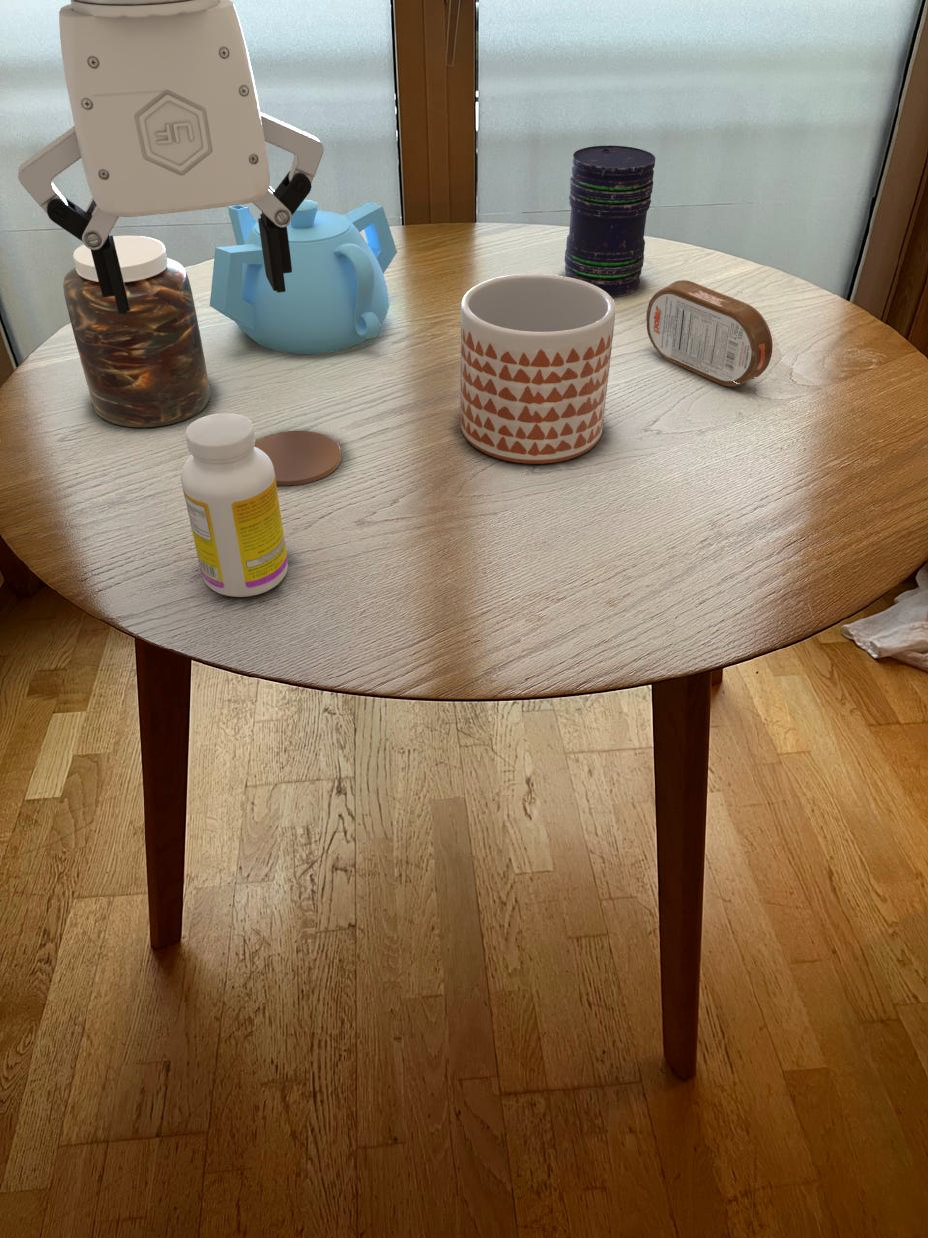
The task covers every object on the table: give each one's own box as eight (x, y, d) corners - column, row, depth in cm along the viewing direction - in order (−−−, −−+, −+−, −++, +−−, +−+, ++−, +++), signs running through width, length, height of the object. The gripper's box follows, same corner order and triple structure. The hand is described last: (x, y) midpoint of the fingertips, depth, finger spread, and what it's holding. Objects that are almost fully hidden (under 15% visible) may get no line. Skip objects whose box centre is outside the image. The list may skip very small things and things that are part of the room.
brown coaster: (252, 493, 84) (251, 488, 84) (235, 444, 91) (234, 439, 90) (352, 475, 86) (351, 470, 86) (328, 428, 93) (328, 424, 93)
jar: (229, 379, 101) (205, 233, 91) (184, 433, 92) (152, 278, 82) (124, 369, 102) (89, 225, 93) (70, 422, 94) (26, 268, 84)
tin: (765, 391, 99) (783, 312, 94) (746, 400, 98) (763, 321, 92) (655, 343, 108) (666, 268, 103) (636, 350, 107) (646, 275, 101)
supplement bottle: (297, 552, 77) (279, 408, 69) (277, 603, 72) (254, 455, 64) (216, 547, 78) (188, 403, 70) (191, 597, 73) (157, 449, 65)
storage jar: (652, 294, 119) (669, 165, 109) (577, 300, 117) (588, 170, 108) (624, 265, 126) (638, 142, 117) (553, 271, 125) (561, 147, 115)
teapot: (399, 296, 118) (394, 177, 109) (387, 366, 103) (379, 235, 94) (244, 295, 118) (225, 176, 109) (210, 365, 104) (185, 234, 95)
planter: (499, 385, 100) (503, 262, 92) (622, 416, 95) (638, 289, 87) (434, 443, 91) (432, 313, 83) (567, 480, 86) (579, 346, 78)
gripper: (-42, -7, 45) (60, 339, 56) (319, -27, 49) (347, 298, 60) (-36, -28, 50) (56, 291, 62) (290, -44, 55) (320, 257, 66)
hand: (201, 294), depth 61 cm, fingers open, 9 cm apart
